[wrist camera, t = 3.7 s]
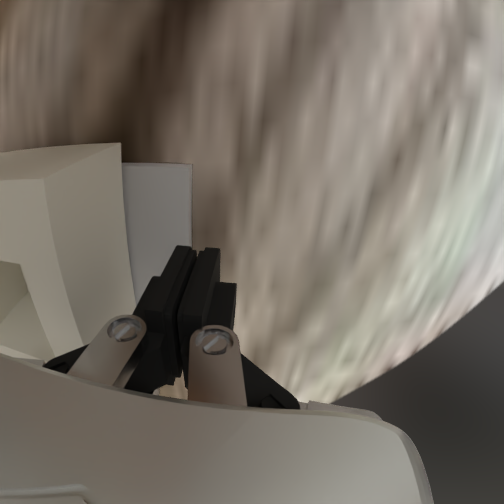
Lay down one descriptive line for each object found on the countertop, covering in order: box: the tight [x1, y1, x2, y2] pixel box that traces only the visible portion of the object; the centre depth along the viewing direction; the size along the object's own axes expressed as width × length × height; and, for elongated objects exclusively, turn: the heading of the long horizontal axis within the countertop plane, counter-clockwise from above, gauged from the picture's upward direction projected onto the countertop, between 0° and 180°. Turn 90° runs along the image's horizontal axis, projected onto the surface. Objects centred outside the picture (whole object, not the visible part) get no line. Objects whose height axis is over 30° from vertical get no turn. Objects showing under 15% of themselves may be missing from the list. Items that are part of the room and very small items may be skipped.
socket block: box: [0, 143, 136, 363], centre depth 11 cm, size 10×8×5 cm
